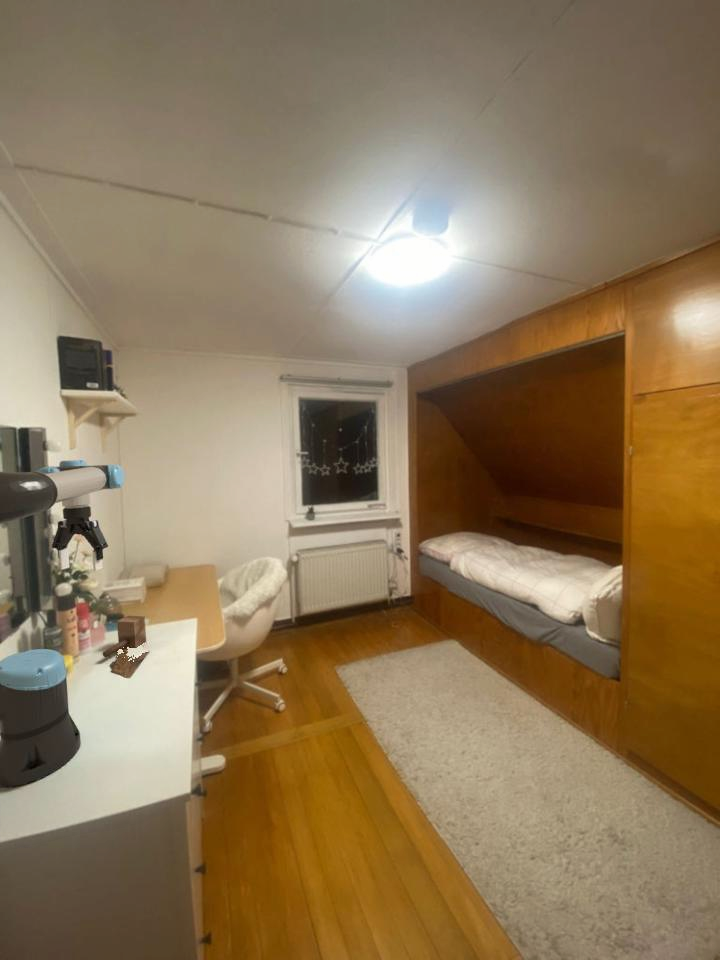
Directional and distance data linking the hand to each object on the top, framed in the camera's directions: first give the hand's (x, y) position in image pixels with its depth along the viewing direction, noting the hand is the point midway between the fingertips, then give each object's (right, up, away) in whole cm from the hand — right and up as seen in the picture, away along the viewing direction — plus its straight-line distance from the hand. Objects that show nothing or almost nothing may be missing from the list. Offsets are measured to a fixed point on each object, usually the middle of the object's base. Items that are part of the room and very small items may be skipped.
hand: (81, 569), depth 130 cm
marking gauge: (+11, -30, +5) cm, 33 cm away
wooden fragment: (+17, -31, -1) cm, 35 cm away
